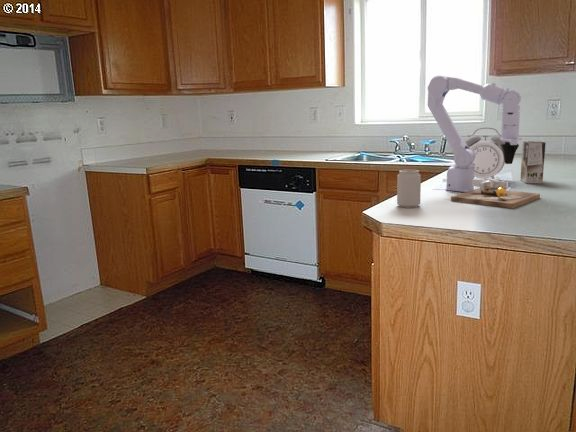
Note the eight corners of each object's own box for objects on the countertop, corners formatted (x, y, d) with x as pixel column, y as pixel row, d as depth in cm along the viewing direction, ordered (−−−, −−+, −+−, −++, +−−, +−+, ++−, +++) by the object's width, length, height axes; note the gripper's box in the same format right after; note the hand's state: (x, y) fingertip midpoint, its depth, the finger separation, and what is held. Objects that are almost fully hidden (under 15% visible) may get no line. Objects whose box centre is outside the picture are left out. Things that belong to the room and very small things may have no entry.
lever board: (450, 200, 167) (451, 195, 166) (480, 191, 180) (480, 187, 180) (512, 208, 152) (512, 203, 151) (539, 198, 165) (540, 193, 165)
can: (421, 204, 164) (421, 168, 161) (419, 208, 157) (420, 171, 154) (398, 203, 166) (398, 168, 164) (395, 208, 159) (396, 171, 157)
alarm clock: (461, 181, 206) (463, 128, 201) (465, 178, 213) (467, 127, 208) (503, 182, 198) (506, 127, 193) (505, 179, 205) (508, 126, 200)
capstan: (461, 194, 168) (461, 182, 167) (481, 188, 177) (481, 176, 176) (503, 199, 157) (504, 186, 156) (522, 192, 167) (522, 180, 166)
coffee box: (543, 183, 192) (546, 142, 188) (525, 183, 193) (528, 142, 190) (536, 180, 201) (539, 140, 197) (519, 180, 202) (522, 141, 198)
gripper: (527, 125, 165) (525, 165, 168) (517, 124, 178) (516, 161, 181) (505, 126, 166) (503, 166, 169) (497, 124, 180) (495, 161, 183)
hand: (508, 163), depth 175 cm, fingers closed
